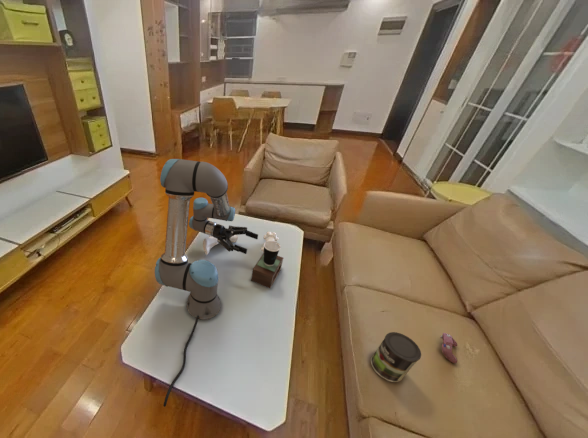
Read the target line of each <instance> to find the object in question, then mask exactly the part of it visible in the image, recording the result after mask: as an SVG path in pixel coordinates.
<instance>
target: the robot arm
mask: <svg viewBox="0 0 588 438" xmlns="http://www.w3.org/2000/svg"><path fill="white" fill-rule="evenodd" d="M159 178H160V179H159V181H160V186H161V187H163V189H165V191H164V193H165V194H166V196H167V197H168V200H167V201H168V203H167V213H166V215H167V217H166V227H165V229H166V230H165V245H164V252H163V253H162V254H160V257H159V258H158V259H157V260H156V262H155V265H154V278H155V281H156V282H157V284H159V285H162V286H165V287H169V288H173V289H178V290H182V291H186V292H190V293H189V295H188V297H187V300H186V310H187V312H188V313H189V315H190V316H191V317H193V318H194V319H195V321H194V324H193V327H192V330H191V331H190V332H191V333H190V335H189V337H188V338H187V340H186V343H185V345H184V348H183V358H182V359H183V360H182V365H181V367H180V370H179V371H178V373H177V374H176V375H175V377H174V378H173V380H172V381H171V383H170V385H169V387H168V389H167V391H166V395H165V398H164V401H163V407H165V408H166V406H167V403H168V400H169V396H170V394H171V391H172V389H173V387H174V385H175V383H176V382H177V381H178V379H179V378H180V376H181V375H182V373H183V372H184V370H185V367H186V363H187V362H186V361H187V350H188V347H189V344H190V342H191V340H192V338H193V336H194V333H195V330H196V327H197V324H198V323H199V322H198V321H199V320H201V321H208V320H211V319H214V318H215V317H216V316H217V315H218V314H219V313H220V310H221V300H220V297H219V296H218V286H219V285H218V284H219V283H218V282H219V272H218V269H217V267H216V265H215V264H213V263H212V262H211V261H209V260H206V259H198V260H194V261H193V262H189V256H188V255H187V254H186V247H187V236H188V235H187V234H188V227H189V228H190V229H192V230H194V231H197V232H199V233H202V234H204V235H206V236H209V235H210V236H212V237H214V238H217V242H218V243H219V244H220V245H221V246H222V247H223V248H224V249H225V250H226V251H227V252H229V253H230V252H234V251H235V252H238V253H242V254H244V255H247V254H248V248H246V247H243V246H240V245H239V244H234V243H233V242H231V240H230V237H232V236H234V235H237V236H240V235H245V236H246V237H248V238H252V239H254V240H258V238H259V234H258V233H255V232H253V231H250V230H248V227H247V226H236V225H235V226H234V225H228V228H226V226H224V225H222V224H220V223H217V222H214V221H211V220H208V219H213V220H219V221H224V222H234V220H235V216H236V208H235V207H234V206H230V202H229V201H230V200H229V197H228V189H229V183H228V180H227V178H226V176H225V174H224V173H223V172H221V170H220V169H219V168H218V167H216V166H215V165H213V164H211V162H210V163H209V162H208V161H207V162H206V161H198V160H189V159H181V158H170V159H167V161H165V163H164V165H163V167H162V169H161V172H160V177H159ZM195 193H201V194H202V193H203V194H206V196H208V197H209V198H210V202H211V203H209V201H208V199H207V198H205V197H197V198H195V199H194V200H193V202H192V203H193V206H192V213H193V215H192V216H191V217H190V218H189V214H190V203H191V199H192V198H193V197H194V196H195ZM223 239H224V240H225V241H226V242H225V241H224V240H223Z"/></svg>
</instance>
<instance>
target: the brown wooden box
mask: <svg viewBox="0 0 588 438" xmlns="http://www.w3.org/2000/svg"><path fill="white" fill-rule="evenodd" d="M283 261H284V257H282V256H280V255H277V258H276V260H275V263H274V265H273V266H267V265H265V264H264V253H263V252H262V254H261V256H260V258H259V259H258V260H257V262H256V264H255V265H254V266H253V268H252V273H251V278H250V281H251V282H253V283H256V284H258V285H260V286H262V287H265V288H268V289H272V286H273V285H274V283H275V281H276V279H277V277H278V276H279V274H280V272H281V269H282V266H283Z"/></svg>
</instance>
